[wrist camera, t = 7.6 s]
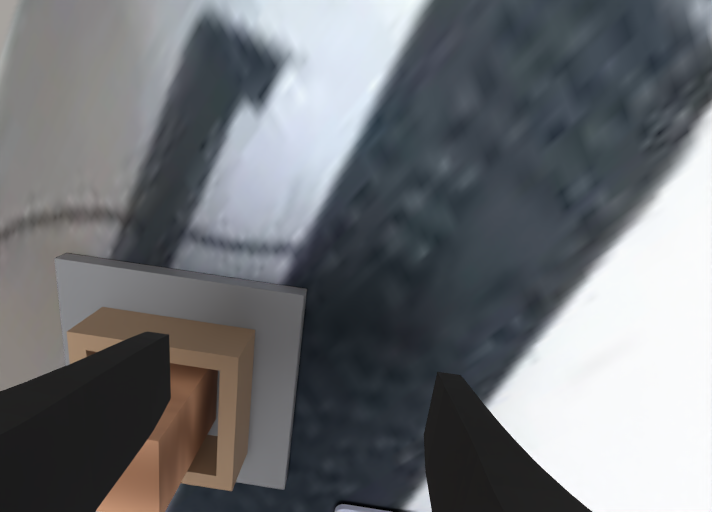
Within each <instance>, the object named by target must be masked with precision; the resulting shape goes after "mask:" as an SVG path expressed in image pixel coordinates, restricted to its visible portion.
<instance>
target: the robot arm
mask: <svg viewBox="0 0 712 512" xmlns="http://www.w3.org/2000/svg"><path fill="white" fill-rule="evenodd" d="M170 399H171V382H170V346H169V334H162V333H155V332H148V331H147V332H144V333H141V334H138V335H136V336H133V337H131V338H128V339H126V340H124V341H121V342H119V343H117V344H114V345H112V346H110V347H108V348H106V349H103V350H101V351H99V352H96V353H94V354H92V355H90V356H87V357H85V358H83V359H81V360H78V361H76V362H74V363H72V364H69V365H67V366H64V367H62V368H59V369H57V370H54V371H52V372H49V373H47V374H45V375H42V376H40V377H37V378H35V379H32V380H30V381H27V382H25V383H22V384H19V385H17V386H14V387H11V388H9V389H6V390H3V391H0V512H95V511H96V510H97V508H98V507H99V506H100V504H101V503H102V502H103V500H104V499H105V497H106V496H107V495H108V493H109V492H110V491H111V489H112V488H113V486H114V485H115V484H116V482H117V481H118V480H119V478H120V477H121V476H122V474H123V473H124V471H125V470H126V469H127V467H128V466H129V465H130V463H131V462H132V460H133V459H134V458H135V456H136V455H137V454H138V452H139V451H140V449H141V448H142V447H143V445H144V444H145V442H146V441H147V440H148V438H149V437H150V435H151V434H152V432H153V431H154V429H155V427H156V425H157V424H158V422H159V420H160V418H161V416H162V415H163V413H164V411H165V409H166V407H167V405H168V403H169V401H170ZM424 447H425V468H426V477H427V483H428V490H429V496H430V502H431V508H432V512H592V511H591V510H589V509H588V508H587V507H586V506H584V505H583V504H582V503H581V502H580V501H578V500H577V499H576V498H575V497H574V496H572V495H571V494H570V493H569V492H568V491H567V490H566V489H564V488H563V487H562V486H561V485H560V484H559V483H558V482H557V481H556V480H555V479H553V478H552V477H551V476H550V475H549V474H548V473H547V472H546V471H545V470H544V469H543V468H542V467H540V466H539V465H538V464H537V463H536V462H535V461H534V460H533V459H532V458H531V457H530V456H529V454H528V453H527V452H526V451H525V450H524V449H523V448H522V447H521V446H520V445H519V444H518V443H517V442H516V441H515V440H514V439H513V438H512V436H511V435H510V434H509V433H508V432H507V431H506V430H505V429H504V428H503V426H502V425H501V424H500V423H499V422H498V421H497V419H496V418H495V417H494V416H493V415H492V413H491V412H490V411H489V410H488V409H487V407H486V406H485V405H484V404H483V402H482V401H481V400H480V399H479V398H478V396H477V395H476V394H475V392H474V391H473V390H472V389H471V387H470V386H469V385H468V384H467V382H466V381H465V380H464V379H463V378H462V376H461V375H456V374H449V373H441V372H437V376H436V381H435V386H434V390H433V395H432V400H431V404H430V409H429V414H428V418H427V423H426V428H425V432H424ZM335 512H391V511H385V510H378V509H372V508H366V507H359V506H353V505H347V504H340V505H338V506H337V507H336V508H335Z"/></svg>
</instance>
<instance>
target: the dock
mask: <svg viewBox="0 0 712 512" xmlns="http://www.w3.org/2000/svg"><path fill="white" fill-rule="evenodd" d="M54 259H55V269H56V278H57V288H58V298H59V308H60V317H61V327H62V337H63V346H64V356H65V366H67V365H69V364H72V363H74V362H76V361H78V360H81V359H83V358H85V357H87V356H90V355H92V354H94V353H96V352H99V351H101V350H103V349H106V348H108V347H110V346H112V345H114V344H117V343H119V342H121V341H124V340H126V339H128V338H131V337H133V336H136V335H138V334H141V333H144V332H147V331H148V332H155V333H162V334H169V346H170V363H173V364H180V365H186V366H193V367H199V368H206V369H212V370H218V379H217V404H216V420H215V422H214V423H213V425H212V427H211V429H210V431H209V432H208V434H207V436H206V438H205V440H204V441H203V443H202V445H201V447H200V449H199V451H198V452H197V454H196V456H195V458H194V460H193V461H192V463H191V465H190V467H189V469H188V471H187V472H186V474H185V476H184V478H183V480H182V481H181V483H183V484H189V485H196V486H202V487H208V488H215V489H221V490H227V491H232V490H233V487H234V485H235V482H239V483H245V484H251V485H258V486H264V487H270V488H277V489H283V490H284V488H285V485H286V481H287V476H288V466H289V457H290V447H291V437H292V428H293V418H294V409H295V399H296V389H297V380H298V370H299V361H300V351H301V341H302V332H303V322H304V313H305V303H306V293H307V289H305V288H298V287H291V286H284V285H278V284H271V283H264V282H258V281H251V280H244V279H237V278H231V277H224V276H217V275H211V274H204V273H197V272H190V271H184V270H177V269H170V268H164V267H157V266H150V265H143V264H137V263H130V262H123V261H117V260H110V259H103V258H96V257H90V256H83V255H76V254H70V253H65V254H63V255H61V256H58V257H56V258H54Z"/></svg>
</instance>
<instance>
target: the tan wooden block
mask: <svg viewBox="0 0 712 512" xmlns="http://www.w3.org/2000/svg"><path fill="white" fill-rule="evenodd" d="M217 379H218V370H212V369H206V368H199V367H193V366H186V365H180V364H173V363H170V382H171V399H170V401H169V403H168V405H167V407H166V409H165V411H164V413H163V415H162V416H161V418H160V420H159V422H158V424H157V425H156V427H155V429H154V431H153V432H152V434H151V435H150V437H149V438H148V440H147V441H146V442H145V444H144V445H143V447H142V448H141V449H140V451H139V452H138V454H137V455H136V456H135V458H134V459H133V460H132V462H131V463H130V465H129V466H128V467H127V469H126V470H125V471H124V473H123V474H122V476H121V477H120V478H119V480H118V481H117V482H116V484H115V485H114V486H113V488H112V489H111V491H110V492H109V493H108V495H107V496H106V497H105V499H104V500H103V502H102V503H101V504H100V506H99V507H98V508H97V510H96V511H100V512H165V510H166V509H167V507H168V505H169V503H170V501H171V500H172V498H173V496H174V494H175V492H176V490H177V489H178V487H179V485H180V483H181V481H182V480H183V478H184V476H185V474H186V472H187V471H188V469H189V467H190V465H191V463H192V461H193V460H194V458H195V456H196V454H197V452H198V451H199V449H200V447H201V445H202V443H203V441H204V440H205V438H206V436H207V434H208V432H209V431H210V429H211V427H212V425H213V423H214V422H215V420H216V404H217Z"/></svg>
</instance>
